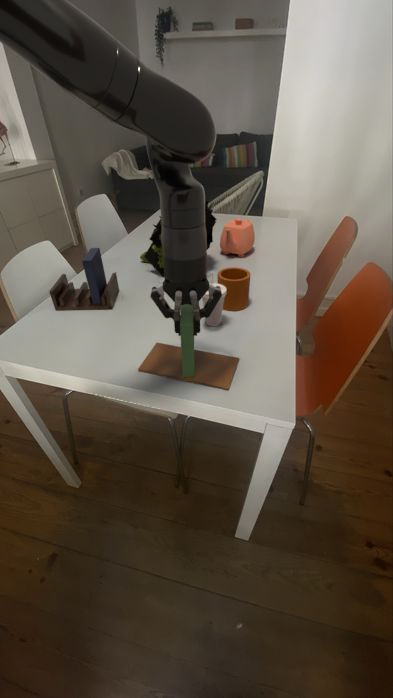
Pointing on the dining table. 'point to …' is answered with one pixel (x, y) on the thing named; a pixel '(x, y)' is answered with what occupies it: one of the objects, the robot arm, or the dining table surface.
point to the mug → (235, 287)
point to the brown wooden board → (207, 366)
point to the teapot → (237, 237)
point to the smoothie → (217, 312)
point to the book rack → (82, 295)
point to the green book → (187, 340)
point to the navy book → (95, 274)
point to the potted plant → (155, 249)
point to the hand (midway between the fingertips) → (187, 333)
